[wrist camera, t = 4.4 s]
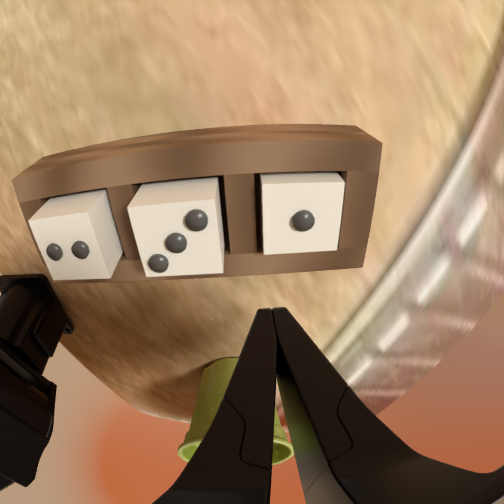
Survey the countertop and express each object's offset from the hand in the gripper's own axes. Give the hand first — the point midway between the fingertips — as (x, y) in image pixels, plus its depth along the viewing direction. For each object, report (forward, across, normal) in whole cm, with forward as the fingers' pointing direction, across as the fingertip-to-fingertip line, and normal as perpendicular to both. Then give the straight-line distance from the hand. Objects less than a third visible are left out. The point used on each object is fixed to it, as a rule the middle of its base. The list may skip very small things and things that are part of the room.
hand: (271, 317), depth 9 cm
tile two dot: (+7, +9, 0) cm, 11 cm away
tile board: (+10, +3, 0) cm, 10 cm away
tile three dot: (+7, +3, 0) cm, 8 cm away
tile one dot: (+8, -2, 0) cm, 8 cm away
